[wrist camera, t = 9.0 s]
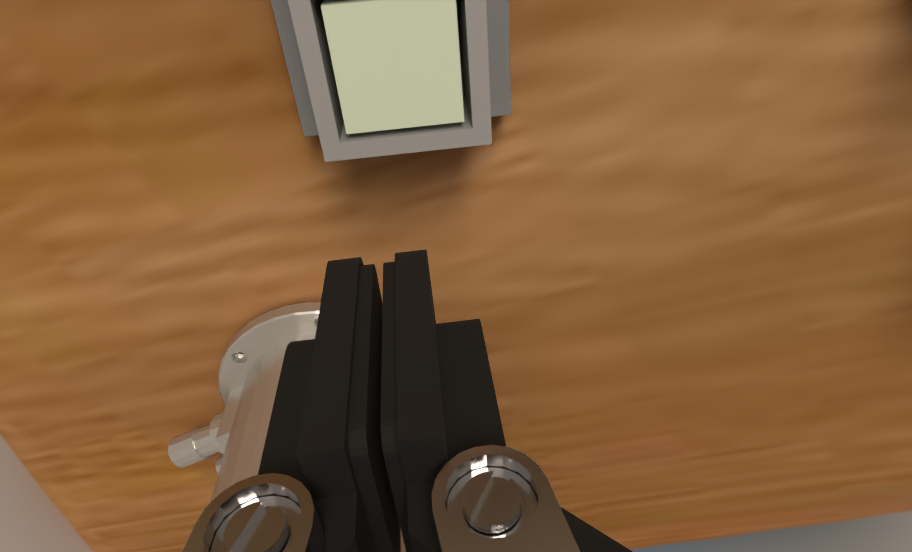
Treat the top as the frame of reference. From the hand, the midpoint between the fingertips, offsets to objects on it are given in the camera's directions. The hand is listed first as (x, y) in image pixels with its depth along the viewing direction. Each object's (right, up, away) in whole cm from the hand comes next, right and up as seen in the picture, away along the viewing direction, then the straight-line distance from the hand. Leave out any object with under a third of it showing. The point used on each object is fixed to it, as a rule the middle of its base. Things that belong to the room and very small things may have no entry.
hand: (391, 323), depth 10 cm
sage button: (-1, +10, +12) cm, 16 cm away
